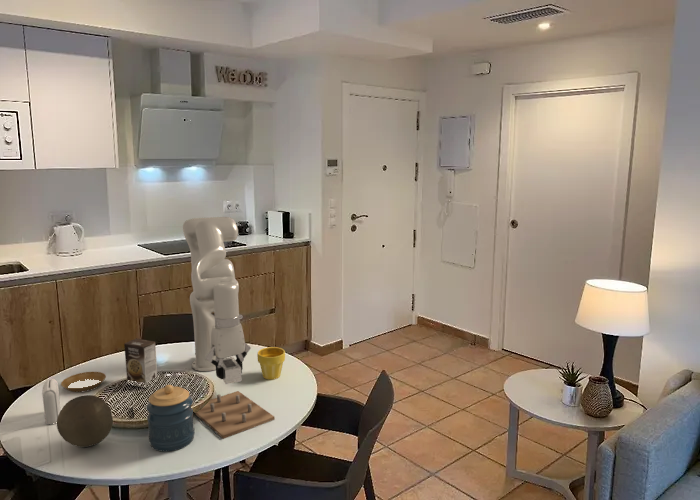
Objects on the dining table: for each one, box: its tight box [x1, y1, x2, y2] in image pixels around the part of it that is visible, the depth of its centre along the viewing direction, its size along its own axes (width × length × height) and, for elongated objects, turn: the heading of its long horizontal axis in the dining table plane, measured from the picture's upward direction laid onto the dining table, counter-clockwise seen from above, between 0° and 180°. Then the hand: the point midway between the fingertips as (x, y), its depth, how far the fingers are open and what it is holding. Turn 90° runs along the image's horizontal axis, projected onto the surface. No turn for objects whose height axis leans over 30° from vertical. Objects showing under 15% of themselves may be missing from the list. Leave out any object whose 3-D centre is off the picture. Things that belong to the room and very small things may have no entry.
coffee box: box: [123, 338, 158, 383], centre depth 197 cm, size 9×6×16 cm
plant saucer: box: [60, 371, 107, 393], centre depth 197 cm, size 15×15×3 cm
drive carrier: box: [221, 356, 243, 385], centre depth 173 cm, size 10×5×5 cm, turn 27°
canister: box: [146, 384, 196, 452], centre depth 159 cm, size 13×13×18 cm
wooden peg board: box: [195, 390, 276, 439], centre depth 176 cm, size 24×18×4 cm
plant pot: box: [257, 346, 286, 380], centre depth 204 cm, size 10×10×10 cm
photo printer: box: [41, 378, 62, 425], centre depth 173 cm, size 10×4×12 cm, turn 26°
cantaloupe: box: [56, 394, 114, 448], centre depth 156 cm, size 14×14×15 cm
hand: (229, 374), depth 173 cm, fingers closed on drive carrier, 5 cm apart
